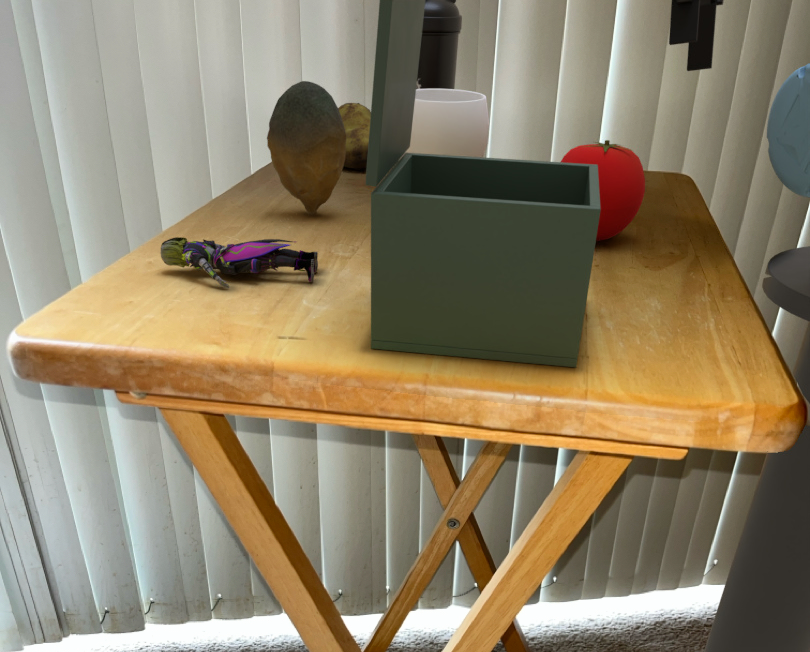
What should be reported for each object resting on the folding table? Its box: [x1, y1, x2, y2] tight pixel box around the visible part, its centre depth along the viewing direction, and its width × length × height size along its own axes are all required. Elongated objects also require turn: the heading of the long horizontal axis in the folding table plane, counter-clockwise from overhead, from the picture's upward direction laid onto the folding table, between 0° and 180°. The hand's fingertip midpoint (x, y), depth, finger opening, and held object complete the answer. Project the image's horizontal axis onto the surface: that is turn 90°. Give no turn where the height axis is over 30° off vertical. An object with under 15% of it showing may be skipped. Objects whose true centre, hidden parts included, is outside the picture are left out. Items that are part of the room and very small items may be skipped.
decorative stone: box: [266, 80, 346, 215], centre depth 102 cm, size 10×6×15 cm, turn 84°
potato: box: [338, 102, 371, 171], centre depth 128 cm, size 8×13×8 cm, turn 173°
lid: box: [365, 0, 425, 188], centre depth 66 cm, size 18×16×1 cm
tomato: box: [560, 139, 646, 242], centre depth 98 cm, size 10×11×11 cm
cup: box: [399, 88, 490, 160], centre depth 96 cm, size 11×11×15 cm
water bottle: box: [397, 0, 463, 162], centre depth 127 cm, size 10×10×23 cm
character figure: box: [159, 236, 319, 289], centre depth 86 cm, size 9×4×16 cm
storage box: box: [370, 153, 601, 368], centre depth 74 cm, size 18×16×13 cm
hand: (691, 57), depth 93 cm, fingers open, 13 cm apart
